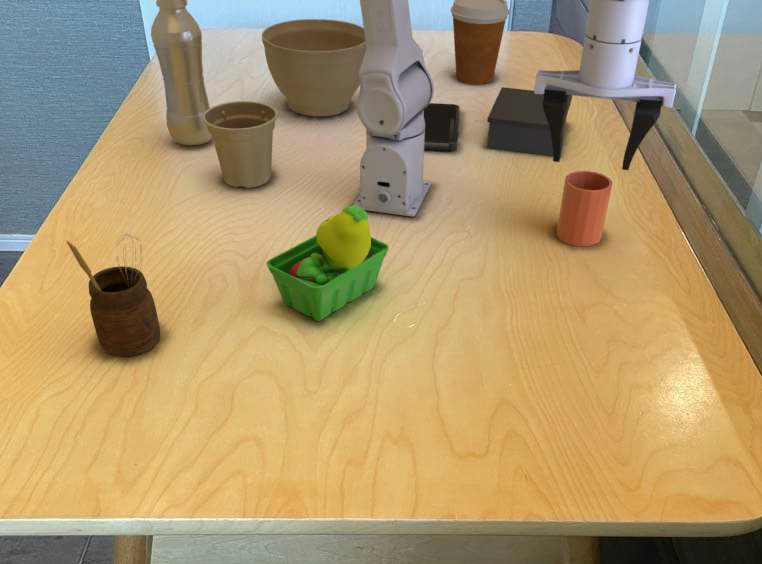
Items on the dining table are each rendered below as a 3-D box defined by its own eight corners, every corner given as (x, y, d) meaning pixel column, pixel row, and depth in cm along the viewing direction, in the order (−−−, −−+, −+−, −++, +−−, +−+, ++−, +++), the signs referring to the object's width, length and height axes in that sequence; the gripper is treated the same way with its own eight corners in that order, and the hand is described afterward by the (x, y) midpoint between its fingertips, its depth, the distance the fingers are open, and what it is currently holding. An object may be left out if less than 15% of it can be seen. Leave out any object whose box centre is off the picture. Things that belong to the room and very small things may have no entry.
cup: (599, 249, 95) (610, 194, 91) (554, 242, 96) (563, 187, 92) (602, 228, 99) (613, 174, 95) (559, 222, 100) (567, 168, 96)
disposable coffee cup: (437, 72, 140) (440, -3, 132) (485, 65, 143) (491, -9, 136) (463, 91, 134) (468, 12, 126) (513, 83, 137) (521, 6, 129)
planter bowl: (360, 130, 121) (359, 54, 114) (255, 122, 123) (247, 46, 115) (379, 92, 133) (379, 21, 126) (283, 85, 135) (278, 14, 127)
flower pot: (196, 184, 106) (186, 119, 101) (239, 158, 113) (232, 95, 107) (255, 201, 103) (248, 134, 98) (296, 172, 110) (292, 109, 104)
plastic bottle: (207, 152, 114) (185, -2, 101) (162, 148, 115) (134, -6, 102) (223, 134, 119) (204, -15, 106) (180, 130, 120) (155, -19, 107)
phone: (401, 141, 115) (409, 101, 126) (401, 148, 116) (409, 109, 127) (457, 143, 115) (460, 104, 126) (457, 151, 115) (460, 111, 127)
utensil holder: (173, 341, 80) (151, 232, 72) (115, 368, 77) (86, 256, 69) (142, 316, 84) (118, 209, 76) (85, 340, 80) (54, 231, 72)
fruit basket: (339, 262, 92) (336, 168, 85) (400, 290, 88) (402, 193, 81) (266, 305, 85) (256, 206, 78) (328, 337, 81) (323, 236, 74)
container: (558, 157, 115) (563, 126, 112) (484, 148, 116) (487, 117, 114) (567, 124, 124) (572, 94, 121) (498, 116, 126) (501, 86, 123)
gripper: (686, 30, 85) (657, 155, 94) (546, 18, 87) (531, 141, 96) (686, 51, 80) (656, 181, 88) (538, 38, 82) (523, 165, 91)
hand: (590, 162), depth 92 cm, fingers open, 7 cm apart
